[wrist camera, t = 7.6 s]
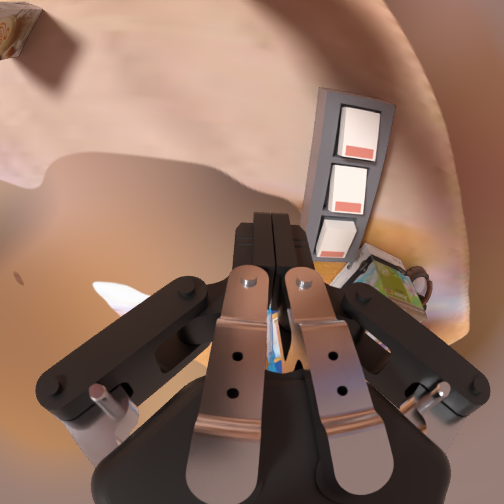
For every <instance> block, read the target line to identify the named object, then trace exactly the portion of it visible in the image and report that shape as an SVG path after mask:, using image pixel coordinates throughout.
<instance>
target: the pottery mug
mask: <svg viewBox="0 0 504 504" xmlns="http://www.w3.org/2000/svg"><path fill="white" fill-rule="evenodd" d="M407 274H408V276H409V278H410V280H411V282H413V281H414V280H415V279H416V278H418V277H425V278H426V280H427V291H426V294H425V297H424V296H421V295H419V294H418V293H417V295H418V297H419V299H420V302H421V304H422V306H423V308H424V311H425V310H426V303H427V302H428V300H429V298H430V296H431V293H432V287H433V286H432V281H429V275H428V274H427V273H426V271H425V270H424V269H423V268H422V267H414V268H411V269H410V271H407Z"/></svg>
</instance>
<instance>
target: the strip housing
mask: <svg viewBox="0 0 504 504" xmlns="http://www.w3.org/2000/svg"><path fill="white" fill-rule="evenodd" d="M342 107H349V108H355V109H360V110H365V111H370V112H374V113H379V114H380V122H379V132H378V141H377V150H376V158H375V161H371V160H364V159H358V158H351V157H344V156H340V155H338V154H337V153H338V144H339V134H340V122H341V110H342ZM395 107H396V105H393V104H391V103H389V102H386V101H384V100H382V99H378V98H373V97H369V96H364V95H360V94H355V93H350V92H344V91H339V90H333V89H327V88H320V87H319V91H318V100H317V108H316V117H315V125H314V132H313V140H312V147H311V155H310V162H309V169H308V175H307V182H306V189H305V195H304V201H303V208H302V214H301V220H300V227H301V228H302V229H303V230H304V231H305V232H306V235H307V239H308V243H309V248H310V251H311V256H312V260H313V261H323V262H351V263H354V262H355V259H356V256H357V253H358V250H359V247H360V244H361V241H362V238H363V235H364V232H365V229H366V226H367V222H368V219H369V216H370V212H371V209H372V205H373V202H374V198H375V195H376V191H377V187H378V184H379V180H380V176H381V172H382V168H383V164H384V160H385V155H386V151H387V147H388V142H389V137H390V133H391V128H392V123H393V118H394V112H395ZM331 165H340V166H348V167H355V168H363V169H367V175H366V188H365V199H364V209H363V214H352V213H340V212H331V211H329V210H328V203H329V191H330V178H331ZM324 220H340V221H353V222H354V224H355V227H356V230H357V231H356V234H355V236H354V238H353V240H352V243H351V245H350V247H349V249H348V251H347V254H346V256H345V258H333V257H317V253H316V245H317V242H318V239H319V236H320V232H321V229H322V226H323V223H324Z"/></svg>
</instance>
